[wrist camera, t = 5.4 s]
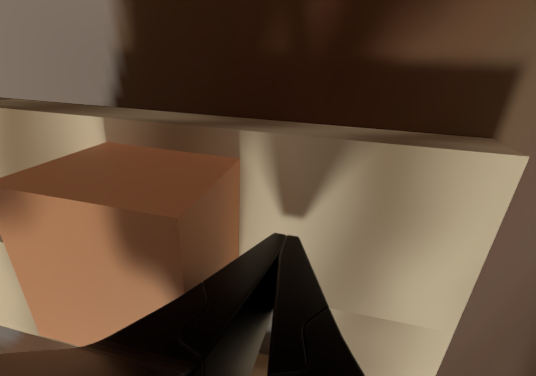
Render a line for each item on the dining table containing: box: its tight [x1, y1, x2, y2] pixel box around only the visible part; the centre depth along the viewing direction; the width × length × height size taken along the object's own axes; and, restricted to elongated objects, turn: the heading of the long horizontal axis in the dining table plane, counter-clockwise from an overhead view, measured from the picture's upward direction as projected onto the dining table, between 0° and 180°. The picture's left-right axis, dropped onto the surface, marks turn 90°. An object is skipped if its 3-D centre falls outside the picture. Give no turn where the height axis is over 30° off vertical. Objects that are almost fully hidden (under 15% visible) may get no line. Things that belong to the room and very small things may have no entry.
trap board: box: [0, 98, 529, 376], centre depth 13 cm, size 33×13×4 cm, turn 88°
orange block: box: [0, 142, 240, 347], centre depth 9 cm, size 5×5×4 cm
